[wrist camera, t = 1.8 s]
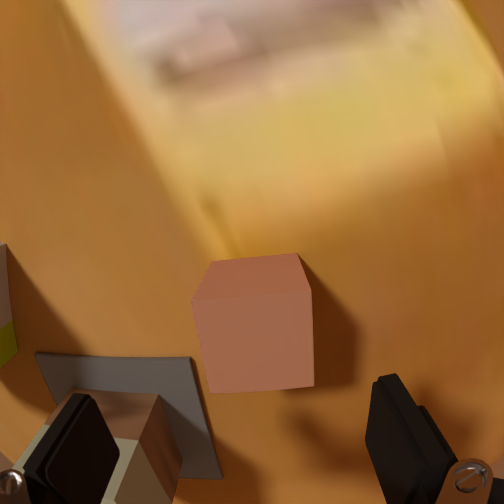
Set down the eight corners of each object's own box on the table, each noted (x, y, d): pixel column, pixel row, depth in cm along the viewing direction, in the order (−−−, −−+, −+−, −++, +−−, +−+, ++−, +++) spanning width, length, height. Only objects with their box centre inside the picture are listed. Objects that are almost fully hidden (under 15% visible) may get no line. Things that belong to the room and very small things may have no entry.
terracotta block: (296, 252, 19) (311, 290, 13) (301, 328, 20) (314, 386, 14) (211, 260, 19) (191, 300, 13) (223, 335, 20) (210, 393, 15)
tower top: (138, 440, 17) (113, 500, 12) (172, 503, 18) (159, 553, 14) (43, 424, 17) (12, 468, 12) (86, 487, 19) (67, 528, 14)
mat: (190, 356, 21) (189, 359, 20) (223, 476, 24) (222, 479, 24) (36, 352, 22) (33, 354, 21) (92, 462, 25) (91, 464, 25)
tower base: (158, 393, 21) (138, 440, 17) (183, 460, 23) (172, 503, 18) (72, 387, 22) (43, 424, 17) (104, 451, 24) (86, 487, 19)
